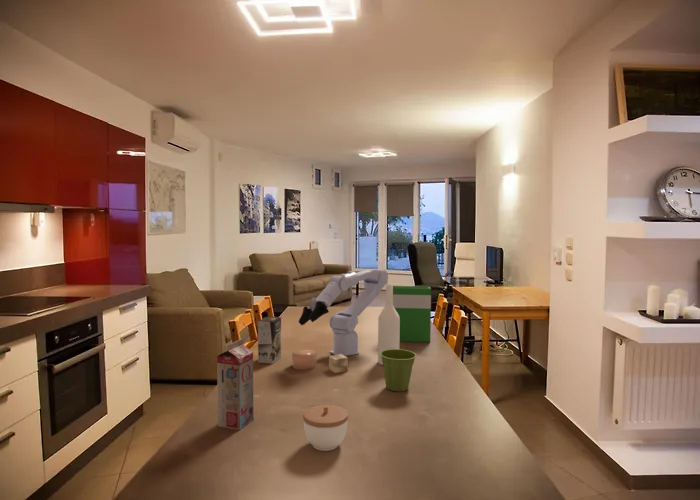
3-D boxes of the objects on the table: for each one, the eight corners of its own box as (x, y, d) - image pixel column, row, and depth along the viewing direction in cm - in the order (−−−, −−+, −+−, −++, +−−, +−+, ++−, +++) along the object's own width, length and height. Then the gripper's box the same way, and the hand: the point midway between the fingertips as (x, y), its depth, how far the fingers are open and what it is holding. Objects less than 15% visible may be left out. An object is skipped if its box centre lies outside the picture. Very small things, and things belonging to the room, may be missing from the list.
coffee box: (273, 364, 175) (273, 321, 174) (257, 362, 176) (257, 320, 175) (281, 357, 184) (281, 316, 183) (266, 356, 185) (266, 316, 184)
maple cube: (341, 367, 172) (341, 354, 172) (347, 371, 167) (347, 357, 167) (328, 369, 169) (328, 355, 169) (335, 373, 165) (335, 359, 165)
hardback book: (390, 340, 210) (391, 287, 209) (390, 337, 217) (391, 285, 216) (430, 341, 208) (431, 288, 207) (429, 338, 215) (429, 286, 214)
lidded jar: (303, 435, 117) (303, 398, 116) (346, 434, 118) (346, 397, 117) (302, 456, 106) (302, 416, 106) (349, 455, 107) (349, 415, 107)
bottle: (402, 361, 179) (403, 284, 178) (395, 367, 172) (396, 286, 170) (382, 358, 183) (383, 282, 181) (374, 364, 175) (375, 285, 174)
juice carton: (253, 419, 126) (252, 339, 125) (239, 430, 120) (239, 345, 118) (232, 416, 128) (231, 337, 127) (218, 426, 122) (216, 343, 121)
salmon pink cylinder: (310, 361, 179) (310, 348, 179) (320, 367, 171) (320, 354, 171) (288, 364, 175) (288, 351, 175) (297, 371, 167) (297, 357, 167)
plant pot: (392, 397, 143) (392, 361, 142) (372, 385, 153) (372, 351, 152) (423, 391, 148) (424, 356, 147) (402, 379, 159) (403, 347, 158)
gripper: (310, 294, 185) (289, 317, 176) (329, 286, 174) (308, 309, 165) (321, 307, 186) (301, 330, 178) (341, 300, 175) (321, 324, 167)
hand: (305, 321), depth 172 cm, fingers open, 7 cm apart
